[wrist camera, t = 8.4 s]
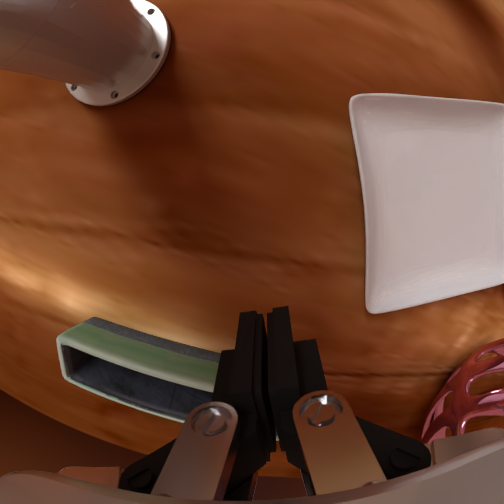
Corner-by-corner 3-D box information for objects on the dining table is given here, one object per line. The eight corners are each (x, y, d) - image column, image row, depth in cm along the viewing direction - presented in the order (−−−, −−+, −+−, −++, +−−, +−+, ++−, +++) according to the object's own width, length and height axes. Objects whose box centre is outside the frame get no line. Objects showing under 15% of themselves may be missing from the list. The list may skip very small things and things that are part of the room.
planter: (301, 362, 34) (308, 405, 27) (284, 401, 36) (286, 443, 29) (84, 304, 33) (54, 334, 26) (87, 348, 35) (62, 380, 28)
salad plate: (357, 303, 31) (366, 319, 28) (338, 99, 25) (347, 93, 22) (498, 272, 29) (513, 282, 26) (496, 105, 23) (514, 104, 20)
